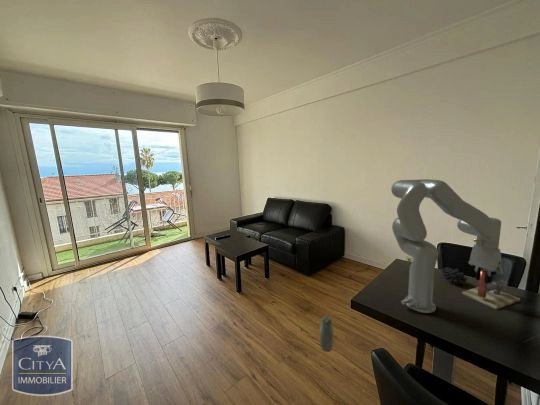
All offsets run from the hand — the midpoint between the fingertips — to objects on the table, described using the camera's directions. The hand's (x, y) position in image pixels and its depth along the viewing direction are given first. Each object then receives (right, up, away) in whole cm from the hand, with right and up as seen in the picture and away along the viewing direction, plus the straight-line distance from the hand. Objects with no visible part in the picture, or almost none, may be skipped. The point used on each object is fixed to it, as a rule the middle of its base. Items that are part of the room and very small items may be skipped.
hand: (483, 280), depth 108 cm
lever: (+8, -7, +4) cm, 12 cm away
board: (+8, -10, +5) cm, 13 cm away
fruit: (+1, -3, +29) cm, 29 cm away
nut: (+13, -7, +11) cm, 18 cm away
